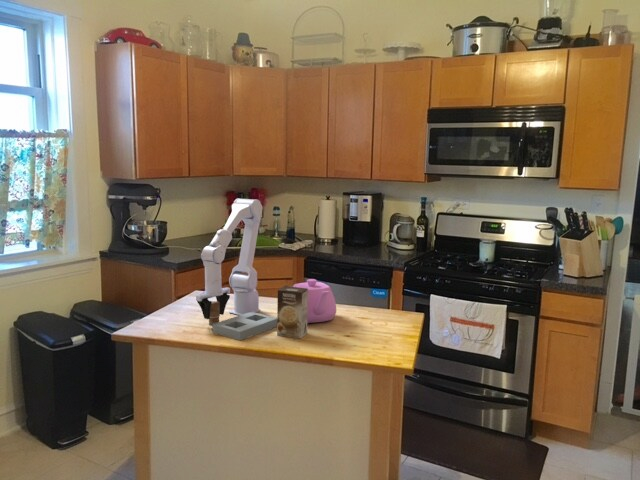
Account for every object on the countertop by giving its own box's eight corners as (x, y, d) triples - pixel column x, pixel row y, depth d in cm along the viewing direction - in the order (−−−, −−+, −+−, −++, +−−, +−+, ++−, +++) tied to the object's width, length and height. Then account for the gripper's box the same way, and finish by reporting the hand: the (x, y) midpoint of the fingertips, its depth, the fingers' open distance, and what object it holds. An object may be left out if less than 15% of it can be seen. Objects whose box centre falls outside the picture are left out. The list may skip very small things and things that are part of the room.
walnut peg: (214, 321, 194) (214, 300, 193) (222, 323, 191) (221, 302, 190) (205, 324, 191) (205, 302, 189) (213, 326, 188) (213, 304, 187)
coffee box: (276, 335, 180) (276, 289, 177) (283, 330, 186) (283, 285, 183) (301, 339, 177) (301, 292, 174) (308, 333, 183) (308, 287, 180)
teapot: (273, 316, 202) (273, 277, 199) (323, 310, 210) (324, 273, 208) (293, 334, 181) (293, 291, 179) (349, 327, 189) (349, 286, 187)
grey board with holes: (251, 319, 197) (251, 311, 197) (277, 326, 190) (277, 318, 189) (212, 332, 182) (212, 324, 182) (240, 340, 174) (239, 331, 174)
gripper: (205, 285, 180) (206, 323, 182) (235, 277, 192) (236, 313, 194) (191, 281, 184) (192, 319, 186) (222, 274, 196) (222, 310, 198)
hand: (213, 316), depth 190 cm, fingers open, 6 cm apart
